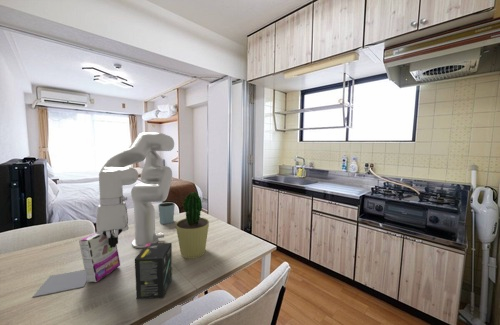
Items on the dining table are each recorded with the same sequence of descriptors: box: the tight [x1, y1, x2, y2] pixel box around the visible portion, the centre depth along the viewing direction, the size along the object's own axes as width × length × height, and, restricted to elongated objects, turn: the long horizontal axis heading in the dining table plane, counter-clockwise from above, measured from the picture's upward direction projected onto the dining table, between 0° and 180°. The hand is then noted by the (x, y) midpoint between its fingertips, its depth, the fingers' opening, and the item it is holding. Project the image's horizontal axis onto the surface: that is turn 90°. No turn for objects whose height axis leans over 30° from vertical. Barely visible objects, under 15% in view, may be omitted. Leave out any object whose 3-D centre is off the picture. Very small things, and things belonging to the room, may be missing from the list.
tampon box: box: [134, 242, 173, 300], centre depth 75 cm, size 11×9×15 cm
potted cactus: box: [175, 191, 210, 259], centre depth 100 cm, size 15×15×30 cm
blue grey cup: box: [157, 201, 176, 225], centre depth 139 cm, size 10×10×12 cm
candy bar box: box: [78, 230, 121, 283], centre depth 82 cm, size 11×5×16 cm, turn 168°
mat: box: [32, 269, 88, 298], centre depth 78 cm, size 14×12×1 cm
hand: (113, 245), depth 83 cm, fingers closed
